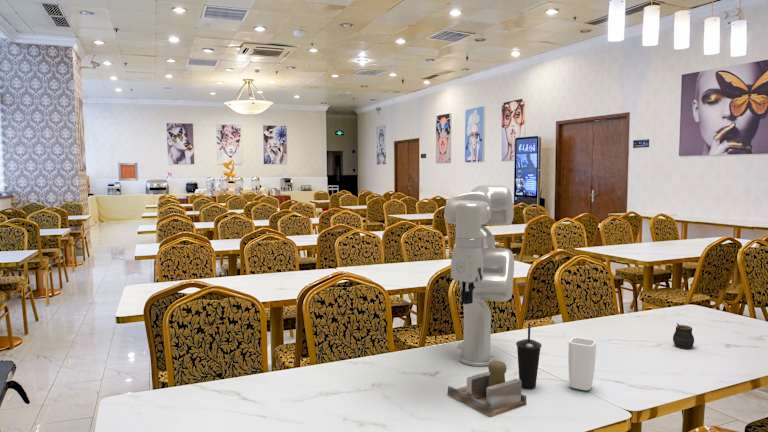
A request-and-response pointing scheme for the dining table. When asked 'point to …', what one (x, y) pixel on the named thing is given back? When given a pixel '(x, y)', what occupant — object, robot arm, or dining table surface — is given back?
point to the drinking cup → (528, 361)
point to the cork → (496, 372)
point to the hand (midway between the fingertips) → (466, 303)
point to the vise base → (493, 397)
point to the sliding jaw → (477, 385)
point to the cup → (581, 363)
